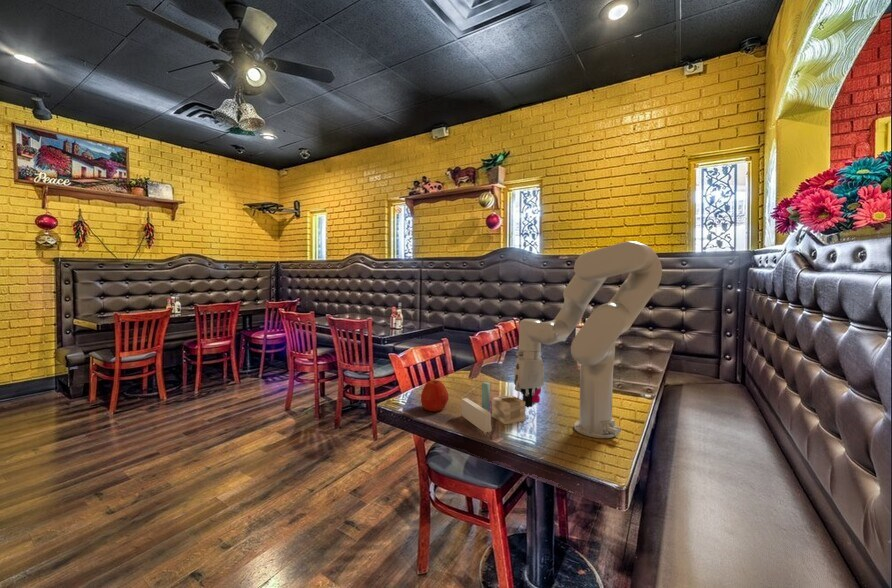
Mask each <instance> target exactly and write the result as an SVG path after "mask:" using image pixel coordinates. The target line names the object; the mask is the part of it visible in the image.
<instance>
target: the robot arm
mask: <svg viewBox="0 0 892 588" xmlns="http://www.w3.org/2000/svg"><path fill="white" fill-rule="evenodd" d="M662 266H663V265H662V262H661V260H660V258H659V256H658V254H657V253H656V252H655V250H653V249H652V248H651V247H650V246H649V245H647V244H644V243H641V242H639V241H634V240H633V241H631V240H629V241H623V242H620V243H617V244H616V243H615V244H612V245H609V246H605V247H602V248H598V249H595V250H591V251H588V252H585V253H583V254H581V255H579V256H578V257H577V258H576V260H575V262H574V266H573V271H574V273H575V274H573V277H572V278H571V280H570V281H569V283H568V284H567V285H566V287H565V289H564V290H563V299H564V300H563V304H562V306H561V309H560V310H559V312H558V313H557V315H556V316H555V318H554V319H552V320H548V321H542V322H541V320H539V319H534V318H524V319H522V320H520V321H519V329H518V331H519V335H518V352H516V353H515V355H516V356H517V358H516V361H515V366H514V367H515V368H514V372H513V373H514V375H513V383H514V390H515V391H516V392H520V393H521V394H522V400H523V401H525V408H532V407H533V403H532V399H533V395H534V393H535V391H536V390H537V389H539V388H541V389H542V387H543V386H544V384H545V370H544V369H545V368H544V361H543V358H542V357H541V352H542V351H541V350H542V345H547V346H550V345H554V344H556V343H560V342H562V341H565V340H566V339H567V338H568V337H569V336H570V334H572V332H573V331H574V330H575V328H576V327H577V326H578V324H579V323H580V321H581V319H582V317H583V316H584V313H585V312H586V309H587V306H588V305H589V303H590V302H591V301H592V299H594V297H595V295H596V294H597V292H598V291H599V289H600V288H601V287H602V285H604V283H605V282H606V280H607V279H608V278H610V277H615V276H618V275H624V274H628V275H627V277H626V279H625V280H624V282H623V283H622V284H621V285H620V286H619V288H618V289H617V291H616V293H615V294H614V295H613V297H612V298H611V299H610V300H609V301H608V302H606V303H603V304H601V305H599V306H597V307H596V308H594V310H593V311H592V312H591V313H590V314H589V316H588V318H587V319H586V320H585V322H584V323H583V325H582V326H581V328H580V329H579V331H577V333H576V335H575V336H574V338H573V339H572V342H571V345H570V353H571V357H572V358H573V360H574V361H575V362H576V363H577V364H579V365H580V367H579V368H580V369H579V370H580V371H579V420H577V421H575V422H574V423H573V428H574V430H575V431H576V432H577V433H578V434H581V435H583V436H585V437H590V438H595V439H611V438H614V437H618V436H620V433H621V432H622V428H621V427H619V426H616V419H613V387H614V386H613V383H614V366H615V365H614V363H615V354H616V344H615V342H616V341H617V340H618V338H619V337H620V336H621V335H622V334H623V333H625V332H627V331H628V330H629V329H630V328H631V327H632V325H633V324H634V322H635V321H636V319H637V317H638V316H639V315H640V313H641V312H642V311H643V309H644V308H645V306H646V305H647V304H648V302H649V301H650V300H651V298H652V297H653V296H654V294H655V292H656V290H657V289H658V288H659V285H660V283H661V279H662V275H663V268H662Z"/></svg>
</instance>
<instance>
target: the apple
mask: <svg viewBox="0 0 892 588" xmlns="http://www.w3.org/2000/svg"><path fill="white" fill-rule="evenodd" d="M420 394H421V395H420V401H421V402H420V403H421V406H422V408H423V409H424V410H425V411H428V412H438V411H439V412H440V411H442V410H443V409H445V407H446V406H447V404H448V401H449V393H448V390H447V388H446V386H445V384H444V383H443V382H442V381H440V380H437V379H433V380H428V381H427V382H426V383H425V385H424V387H423V388H422V391H421V393H420Z"/></svg>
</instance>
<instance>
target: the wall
mask: <svg viewBox="0 0 892 588" xmlns="http://www.w3.org/2000/svg"><path fill="white" fill-rule="evenodd" d="M461 417H462V418H464V419H466V421H468V422H470V423H471V424H472V425H473V426H475V427H477V428H478V429H479V430H480V431H482V432H483V433H484V434H486V433H487V432H488V433H491V432H492V412H490V411H487V410H485V409H484V408H482V406H480V405H479V404H477V403H475V402H474V401H472V400H471V399H469V398H468V397H465V398H461Z"/></svg>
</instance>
